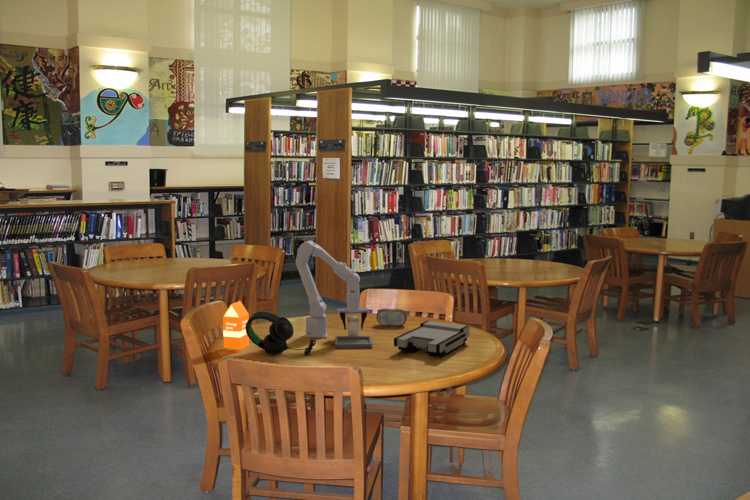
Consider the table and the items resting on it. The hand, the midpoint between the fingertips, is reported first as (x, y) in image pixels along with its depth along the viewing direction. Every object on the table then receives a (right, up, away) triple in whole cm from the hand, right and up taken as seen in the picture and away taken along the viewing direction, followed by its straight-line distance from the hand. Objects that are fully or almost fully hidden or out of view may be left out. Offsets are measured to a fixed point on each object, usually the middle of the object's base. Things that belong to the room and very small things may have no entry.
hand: (353, 328), depth 305 cm
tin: (+18, -1, +23) cm, 29 cm away
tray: (0, -5, -12) cm, 14 cm away
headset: (-30, -7, -27) cm, 41 cm away
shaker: (0, -4, 0) cm, 4 cm away
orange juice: (-49, -6, -20) cm, 54 cm away
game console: (+35, -7, -19) cm, 40 cm away
